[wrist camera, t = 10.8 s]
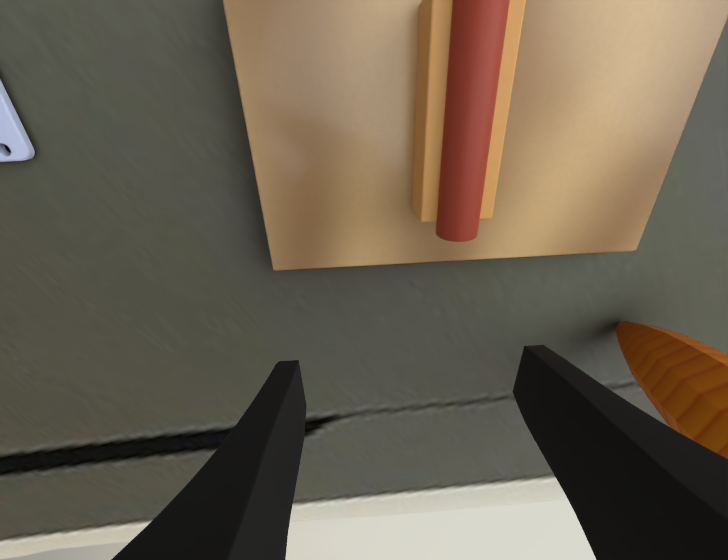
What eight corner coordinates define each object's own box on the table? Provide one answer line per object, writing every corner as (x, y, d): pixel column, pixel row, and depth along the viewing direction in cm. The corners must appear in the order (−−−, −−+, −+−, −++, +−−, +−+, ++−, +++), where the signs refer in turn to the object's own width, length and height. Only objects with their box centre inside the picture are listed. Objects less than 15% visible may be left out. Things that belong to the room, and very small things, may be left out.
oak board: (276, 261, 19) (272, 271, 18) (227, -15, 13) (217, -25, 12) (620, 243, 19) (636, 251, 18) (719, -30, 14) (751, -41, 12)
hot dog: (411, 220, 17) (424, 244, 14) (419, -18, 12) (441, -53, 9) (473, 216, 17) (499, 240, 14) (504, -21, 12) (551, -56, 10)
